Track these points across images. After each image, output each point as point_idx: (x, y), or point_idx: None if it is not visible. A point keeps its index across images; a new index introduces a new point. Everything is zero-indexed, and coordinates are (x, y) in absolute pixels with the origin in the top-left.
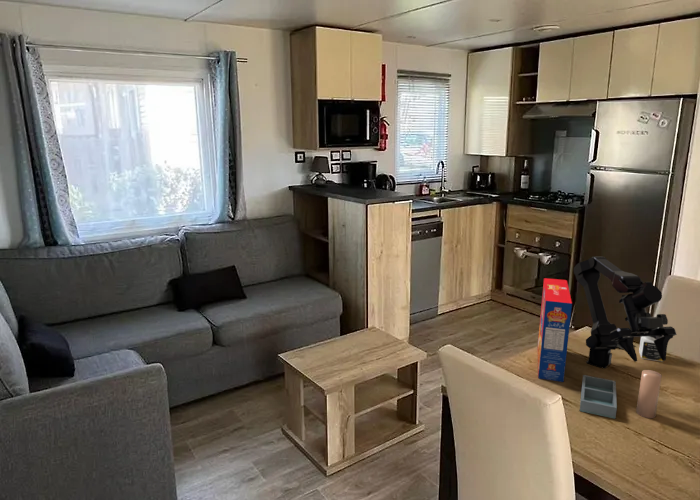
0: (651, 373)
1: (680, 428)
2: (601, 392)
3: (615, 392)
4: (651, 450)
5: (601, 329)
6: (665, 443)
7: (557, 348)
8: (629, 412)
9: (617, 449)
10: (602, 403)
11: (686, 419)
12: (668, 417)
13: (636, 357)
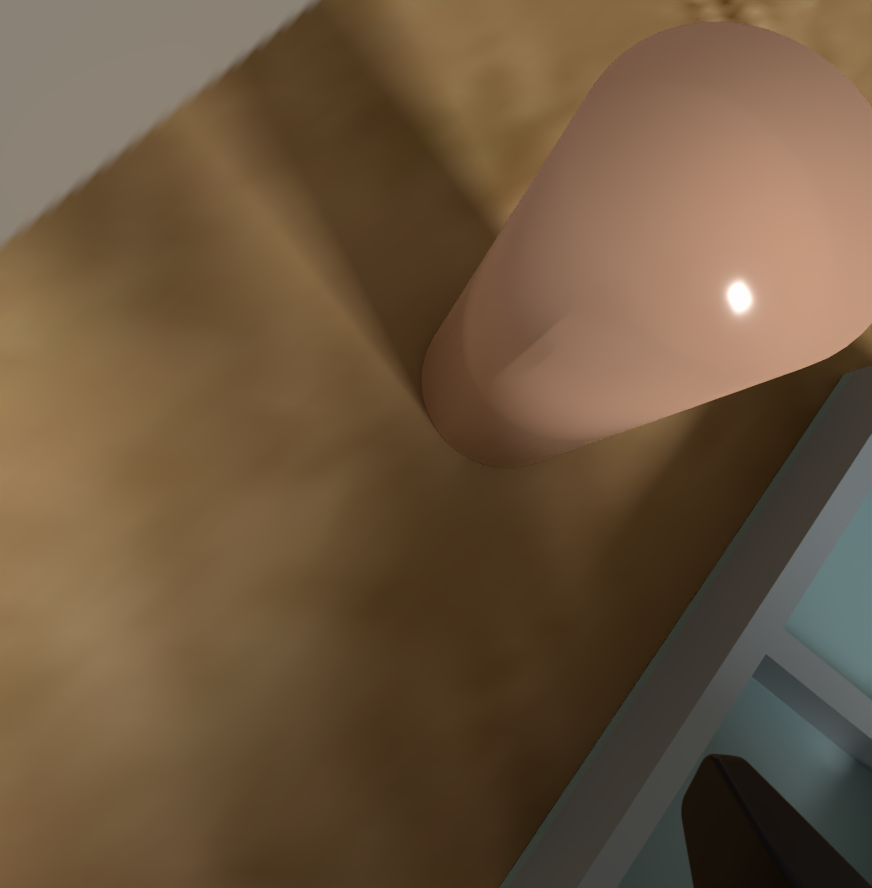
0: (738, 206)
1: (377, 93)
2: (870, 702)
3: (736, 653)
4: None
5: None
6: None
7: None
8: (645, 439)
9: None
10: (826, 620)
11: (178, 195)
12: (332, 271)
13: (769, 818)
